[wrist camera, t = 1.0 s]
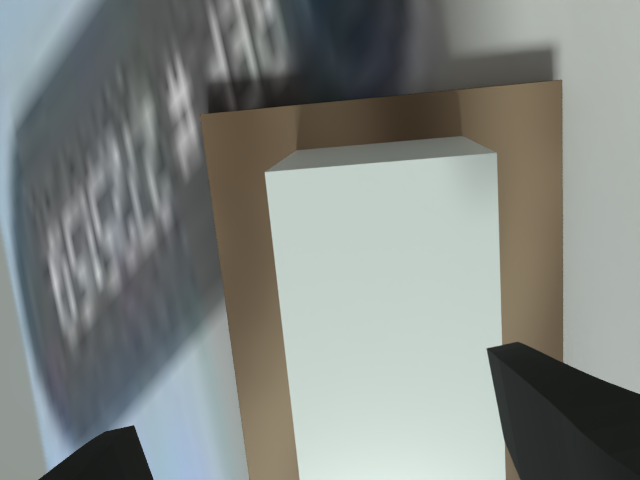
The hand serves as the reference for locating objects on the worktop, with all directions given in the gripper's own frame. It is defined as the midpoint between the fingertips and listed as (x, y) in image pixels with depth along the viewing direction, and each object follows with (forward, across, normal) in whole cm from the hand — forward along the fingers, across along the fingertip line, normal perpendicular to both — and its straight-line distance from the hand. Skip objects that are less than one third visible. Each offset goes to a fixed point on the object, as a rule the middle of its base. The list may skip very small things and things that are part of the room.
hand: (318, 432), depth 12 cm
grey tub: (+10, -2, 0) cm, 10 cm away
